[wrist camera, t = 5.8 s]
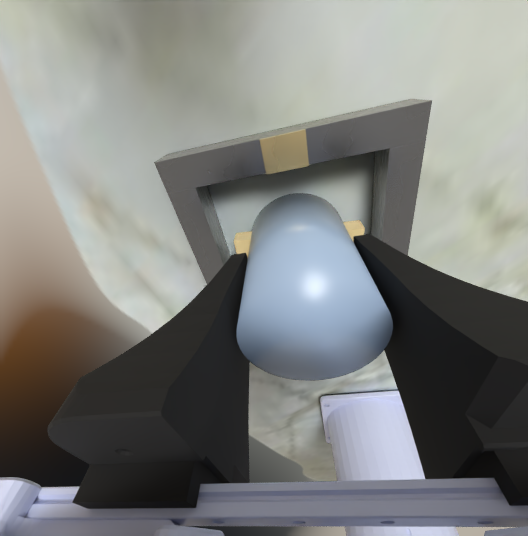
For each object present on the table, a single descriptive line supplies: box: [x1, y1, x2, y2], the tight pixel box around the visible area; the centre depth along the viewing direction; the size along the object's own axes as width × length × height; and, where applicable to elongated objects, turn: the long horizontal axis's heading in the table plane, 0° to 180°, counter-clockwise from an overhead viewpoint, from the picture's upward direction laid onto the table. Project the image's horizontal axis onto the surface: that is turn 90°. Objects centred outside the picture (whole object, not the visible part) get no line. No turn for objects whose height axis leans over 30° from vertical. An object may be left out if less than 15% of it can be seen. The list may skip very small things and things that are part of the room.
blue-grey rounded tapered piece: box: [234, 193, 393, 380], centre depth 10 cm, size 6×4×6 cm
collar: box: [155, 99, 432, 285], centre depth 12 cm, size 10×10×2 cm
